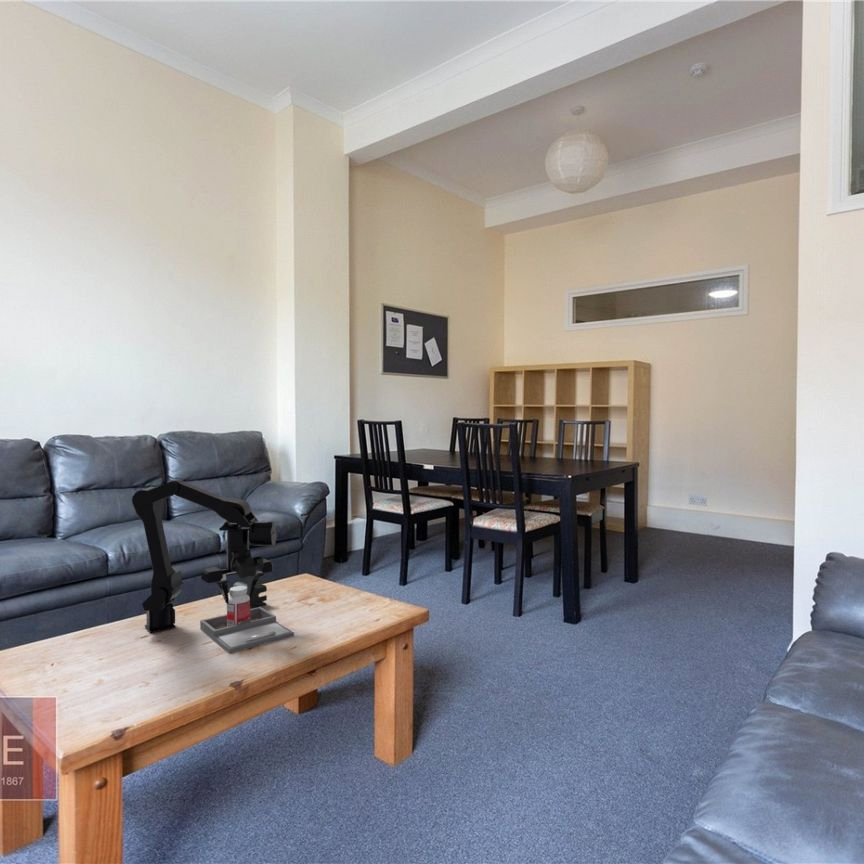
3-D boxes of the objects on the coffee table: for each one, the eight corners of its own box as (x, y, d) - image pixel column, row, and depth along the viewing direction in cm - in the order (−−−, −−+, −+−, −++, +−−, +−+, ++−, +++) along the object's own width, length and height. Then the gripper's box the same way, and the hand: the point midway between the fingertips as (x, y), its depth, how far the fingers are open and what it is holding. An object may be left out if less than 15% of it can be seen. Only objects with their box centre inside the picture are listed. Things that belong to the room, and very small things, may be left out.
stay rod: (246, 642, 145) (246, 639, 145) (244, 641, 146) (244, 637, 146) (275, 635, 151) (275, 631, 151) (274, 634, 151) (274, 630, 151)
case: (213, 640, 150) (213, 628, 150) (200, 629, 158) (200, 617, 158) (276, 624, 161) (276, 613, 161) (260, 615, 169) (260, 604, 169)
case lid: (229, 653, 142) (229, 648, 142) (213, 640, 150) (213, 636, 150) (293, 636, 153) (293, 631, 153) (276, 624, 161) (276, 620, 161)
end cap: (229, 604, 179) (229, 583, 179) (249, 599, 185) (249, 578, 185) (248, 611, 173) (247, 589, 173) (267, 605, 179) (267, 584, 179)
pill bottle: (252, 622, 163) (252, 584, 163) (246, 630, 157) (246, 591, 156) (230, 623, 163) (230, 585, 162) (224, 631, 156) (223, 591, 156)
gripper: (214, 556, 147) (215, 615, 147) (281, 545, 159) (281, 600, 159) (200, 548, 155) (200, 605, 156) (264, 539, 168) (265, 591, 168)
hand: (238, 600), depth 159 cm, fingers closed on pill bottle, 6 cm apart
